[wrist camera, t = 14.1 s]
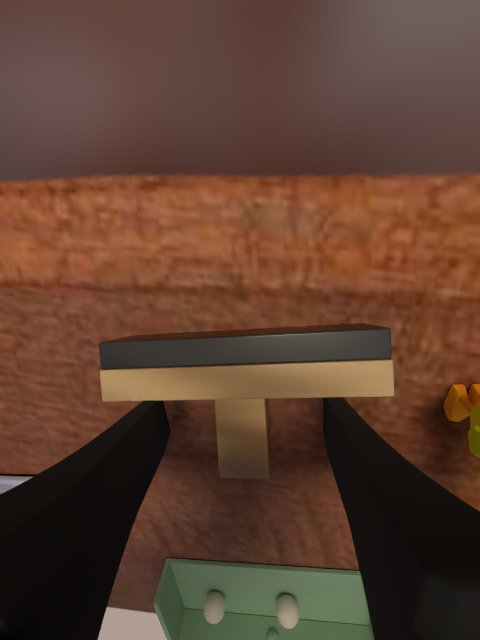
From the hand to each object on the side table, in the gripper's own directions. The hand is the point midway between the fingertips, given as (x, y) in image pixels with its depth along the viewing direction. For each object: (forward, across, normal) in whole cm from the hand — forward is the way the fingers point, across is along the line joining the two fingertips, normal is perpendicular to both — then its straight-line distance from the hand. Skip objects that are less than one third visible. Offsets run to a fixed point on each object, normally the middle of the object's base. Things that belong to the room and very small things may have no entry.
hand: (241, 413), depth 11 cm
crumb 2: (+2, -1, +21) cm, 21 cm away
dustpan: (+3, 0, +22) cm, 23 cm away
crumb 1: (+2, +5, +21) cm, 22 cm away
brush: (+2, 0, -3) cm, 4 cm away
